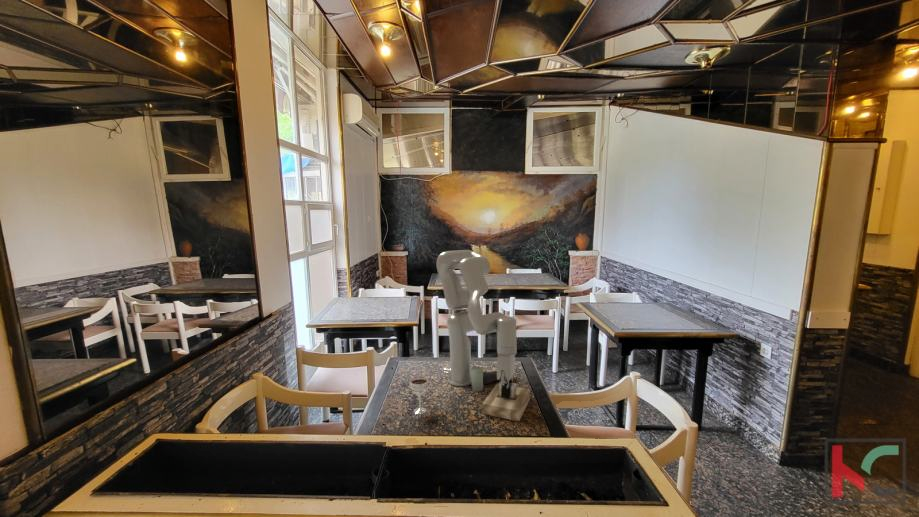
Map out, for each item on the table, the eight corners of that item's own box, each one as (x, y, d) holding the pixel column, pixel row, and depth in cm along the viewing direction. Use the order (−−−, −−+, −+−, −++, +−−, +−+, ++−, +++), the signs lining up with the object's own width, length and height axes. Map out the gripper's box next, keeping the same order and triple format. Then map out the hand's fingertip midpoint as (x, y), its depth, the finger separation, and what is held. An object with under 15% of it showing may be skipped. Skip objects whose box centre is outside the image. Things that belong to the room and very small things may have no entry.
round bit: (469, 390, 146) (469, 370, 145) (474, 385, 150) (473, 365, 149) (480, 392, 143) (480, 372, 143) (484, 387, 148) (484, 367, 147)
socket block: (482, 413, 127) (482, 403, 126) (497, 392, 143) (497, 383, 143) (519, 421, 121) (519, 410, 121) (530, 398, 137) (530, 389, 137)
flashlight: (484, 387, 149) (484, 375, 148) (479, 382, 154) (478, 370, 153) (514, 380, 155) (513, 368, 155) (507, 375, 160) (507, 364, 159)
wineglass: (421, 417, 125) (420, 386, 124) (407, 412, 129) (406, 382, 128) (432, 409, 131) (431, 379, 130) (418, 404, 134) (417, 375, 133)
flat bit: (498, 406, 132) (498, 383, 132) (501, 402, 135) (501, 380, 134) (513, 409, 130) (513, 386, 129) (515, 405, 132) (515, 383, 132)
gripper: (503, 341, 139) (504, 384, 141) (490, 355, 124) (491, 402, 126) (521, 343, 136) (521, 387, 138) (510, 357, 121) (510, 406, 123)
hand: (507, 394), depth 132 cm, fingers open, 4 cm apart
